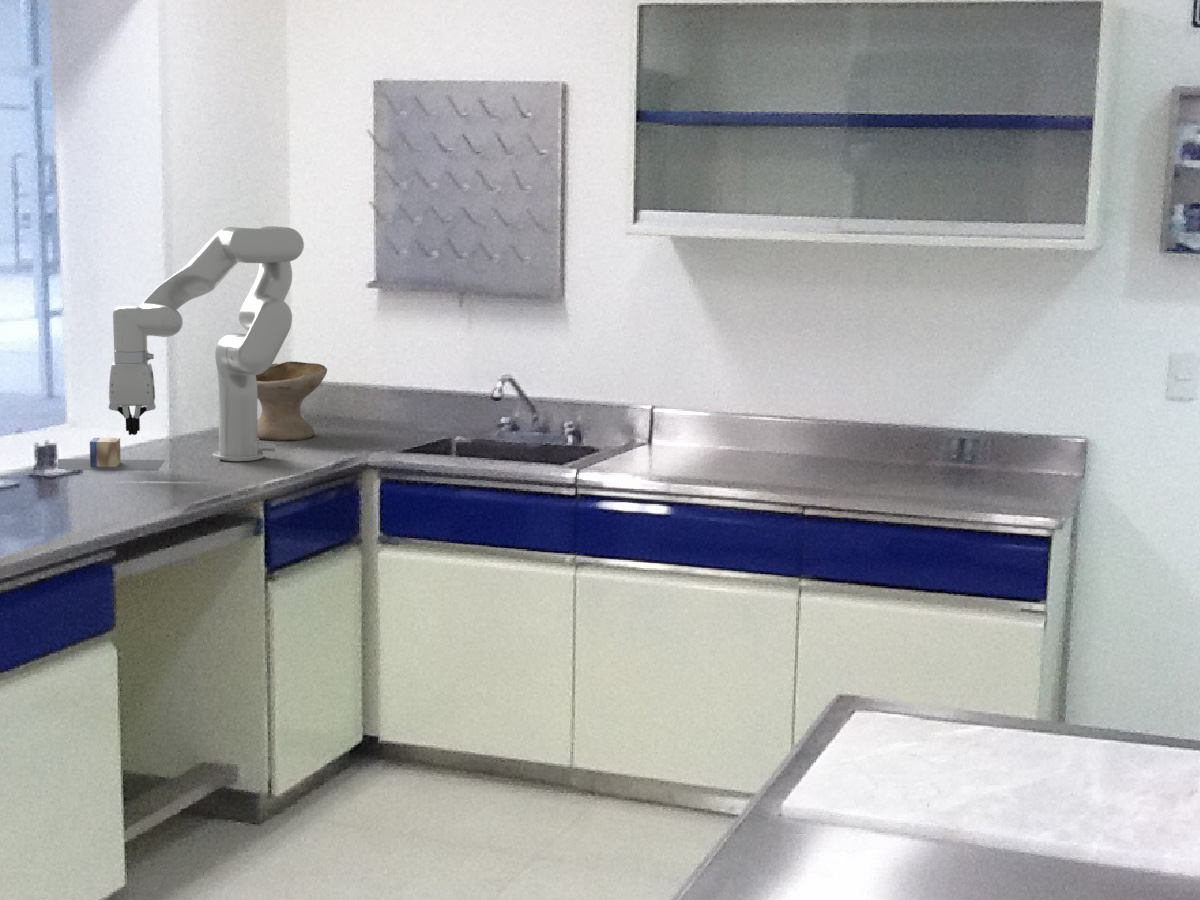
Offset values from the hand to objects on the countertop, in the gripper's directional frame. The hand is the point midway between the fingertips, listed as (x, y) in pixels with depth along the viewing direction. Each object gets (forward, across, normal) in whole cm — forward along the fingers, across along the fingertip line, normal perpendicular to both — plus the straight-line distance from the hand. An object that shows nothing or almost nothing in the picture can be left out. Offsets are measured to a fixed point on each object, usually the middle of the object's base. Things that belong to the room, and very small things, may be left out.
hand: (133, 433), depth 334 cm
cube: (+4, +4, 0) cm, 6 cm away
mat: (+8, +6, 0) cm, 10 cm away
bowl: (+9, -32, -50) cm, 60 cm away
